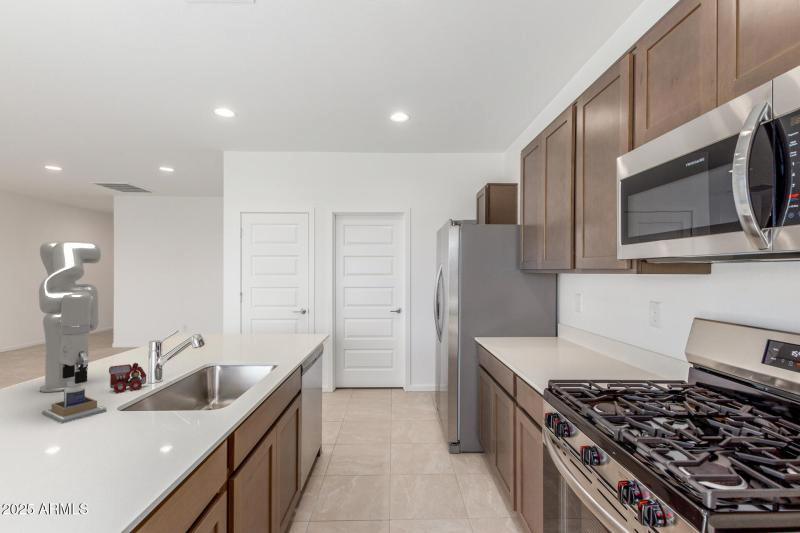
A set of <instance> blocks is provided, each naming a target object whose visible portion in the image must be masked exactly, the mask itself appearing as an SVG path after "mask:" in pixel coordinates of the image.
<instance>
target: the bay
mask: <svg viewBox="0 0 800 533" xmlns="http://www.w3.org/2000/svg"><path fill="white" fill-rule="evenodd" d="M105 412H106V413H107V408H106V407H104V406H102V405H101V406H100V405H98V400H96V399H94V398H91V397H88V396H87V395H86V396H85V403H83V404H79V405H75V406H71V407H67V408H64V400H63V401H58V402H55V403H52V404H51V408H48V409H44V410H42V411H41V414H42V415H44V416H46V417H48V418H49V419H51V420H54V421H56V422H57V423H60V422H61V424H65V423H69V422H72V420H73V421H76V419H77V420H80V419H85V418H86V417H87V418H88V417H90V416H94V415H98V414H101V413H105ZM68 421H69V422H68ZM64 422H65V423H64Z"/></svg>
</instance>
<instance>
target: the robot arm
mask: <svg viewBox="0 0 800 533" xmlns="http://www.w3.org/2000/svg"><path fill="white" fill-rule="evenodd" d="M39 256H40V260H41V262H42V264H43V266H44V268H45V270H46V273H47V276H46V277H45V278H44V279H43V280H42V282H41V283H40V285H39V288H38V302H39V304H38V305H39V310H40V311H41V313H44V314H45V315H44V317H43V319H42V326H43V330H44V337H45V338H44V341H45V360H44V361H45V362H44V363H45V368H44V369H45V370H44V371H45V373H44V374H45V378H44V385H42V386H41V387H40V388H39V392H41V393H55V392H62V391H63V392H64V390H65V389H66V388H67V387H68V386H67V382H68V381H70V380H75V384H78V383H82V384H84V383H87V382H88V368H89V361H90V360H89V337H88V335H89V334H90V332H94V331H95V330H97V328H98V326H99V294H98V289H97V287H96V286H95V285H93V284H88V283H76V282H77V281H79V280H80V279H82V278H83V277H84V275H85V269H84V264H98V263H99V262H100V261H101V258H102V252H101V248H100V245H99V244H98V243H96V242H88V241H87V242H86V241H48V242H44V243H42V244H41V245H40V247H39Z"/></svg>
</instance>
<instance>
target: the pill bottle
mask: <svg viewBox="0 0 800 533" xmlns="http://www.w3.org/2000/svg"><path fill="white" fill-rule="evenodd" d="M67 386H68V387H67V388H66V389H65V390H64V391H63V393H64V394H63V401H64V408H67V407H71V406H75V405H79V404H83V403H85V395H86V388H85V386H84V385H83V383H78V384H75V380H70V381H68V382H67Z"/></svg>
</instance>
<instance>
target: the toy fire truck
mask: <svg viewBox="0 0 800 533" xmlns="http://www.w3.org/2000/svg"><path fill="white" fill-rule="evenodd" d="M108 373H109V376H110V377H109V378H110V379H109V387H110V388H111V390H112V389H113V391H114V392H115V393H118V394H121V393H123V392H125V391H127V390H126V389H127V387H129V388H130V390H131V391H138V390H139V389H141V388H142V386H143V385H146V383H147V374H146V372H145V370H144V369H143V367H142V366H140V365H139V363H137V362H134V363H133V364H132V365H131V364H120V365H119V364H118V365H111V366H110V367H109V368H108Z"/></svg>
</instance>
